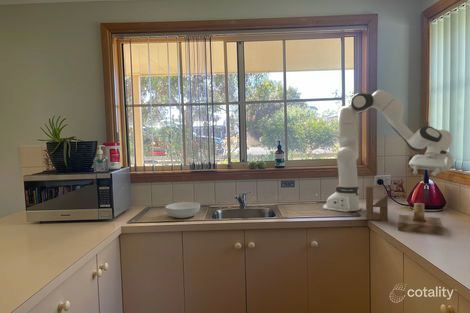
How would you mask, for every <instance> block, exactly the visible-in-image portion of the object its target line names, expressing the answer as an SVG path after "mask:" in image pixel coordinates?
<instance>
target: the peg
mask: <svg viewBox="0 0 470 313" xmlns="http://www.w3.org/2000/svg"><path fill="white" fill-rule="evenodd" d="M413 216H414V221H418V222H424V221H425V220H424V217H425V203H422V202H414V203H413Z"/></svg>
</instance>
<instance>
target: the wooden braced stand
mask: <svg viewBox="0 0 470 313" xmlns="http://www.w3.org/2000/svg"><path fill="white" fill-rule="evenodd" d="M388 198H389V197H388V193H385V194H384V195H383V196H382V197H381V198H379V200H377V201H376V202H375V203H374V186H373V185H366V186H365V220H366V221H367V220H369V221H370V220H371V221H383V222H384V221H385V222H387V221H389V218H388V217H389V216H388V215H389V214H388V212H389V210H388V207H389V204H388V200H389V199H388ZM374 208H379V212H377V211H374Z"/></svg>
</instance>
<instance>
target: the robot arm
mask: <svg viewBox="0 0 470 313" xmlns="http://www.w3.org/2000/svg"><path fill="white" fill-rule="evenodd" d="M371 108H373V109H376V110H377V111H378V112H379V113H380V114H382V115H383V116H384V117H385V119H386V120H387V123H388V124H389V126H390V127H391V128H392V129H393V130H394V131H395V132H396V133H397V134H398V136H400V138H402V139H403V141H405V143H406V145H407V147H408V148H409V149H410V150H412V151H414V152H417V153H418V152H423V151H424V150H425V149H426V151H425V152H424V154H419V153H418V154H415V155H414V156H413V157H412V158H411V159H410V161H409V162H408V165H409V167H410V168H411V169H413V171H412V174H414V175H417V174H418V173H419V172H418V170H426V171H427V170H428V171H431V173H430V175H431V177H436V176H437V174H439V173H440V172H449V171H450V170H451V168H452V166H453V161H454V159H453V156H452V154H451V153H450V151H449V148H450V146H451V144H452V141H453V135H452V133H451V132H450V131H449V130H446V129H437V128H435V127H433V126H430V125H423V126H421V127H420V128H419V129H418V130H417V131H416V132H415V133H414V132H413V131H412V130H410V128H409V127H408V126H407V125H406V124H405V123H404V120H403V114H404V109H405V108H404V105H403V104H402V102H401V101H400V100H398V99H397V98H396V97H395V96H394V95H392V94H390V93H389V92H387V91H385V90H383V89H378V90H375V91H374V92H373V93H372V94H371V93H365V92H358V93H356V94H354V95H353V96H352V97H351V98H350V103H349V105H344V106H342V107H340V109H339V110H338V117H337V135H338V136H337V137H338V143H339V144H338V145H339V150H337V153H336V163H337V170H338V172H337V173H338V185H336V186H335V192H334V193H332V194H331V195H330V196H328V198H327V200H326V203H325V204H324V205H323V206H322V209H323V210H329V211H335V212H336V211H337V212H346V213H348V212H355V211H360V210H361V209H362V208H361V205H360V201H359V200H360V199H359V195H360V194H359V193H360V192H359V191H360V190H359V188H360V187H359V186H358V183H359V182H358V181H359V180H358V168H357V167H358V166H357V160H358V158H359V143H358V132H357V131H358V115H360V114H362V113H365V112H367V111H368V110H370V109H371Z"/></svg>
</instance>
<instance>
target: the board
mask: <svg viewBox="0 0 470 313" xmlns="http://www.w3.org/2000/svg"><path fill="white" fill-rule="evenodd" d="M424 220H425V221H424V222H418V221H414V215H405V214H399V215H398V220H397V231H398V232H406V233H407V232H408V233H415V232H416V233H418V234H426V233H427V234H426V235H437V236H444V226H443V225H444V224H442V220H441V217H432V216H424Z"/></svg>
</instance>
